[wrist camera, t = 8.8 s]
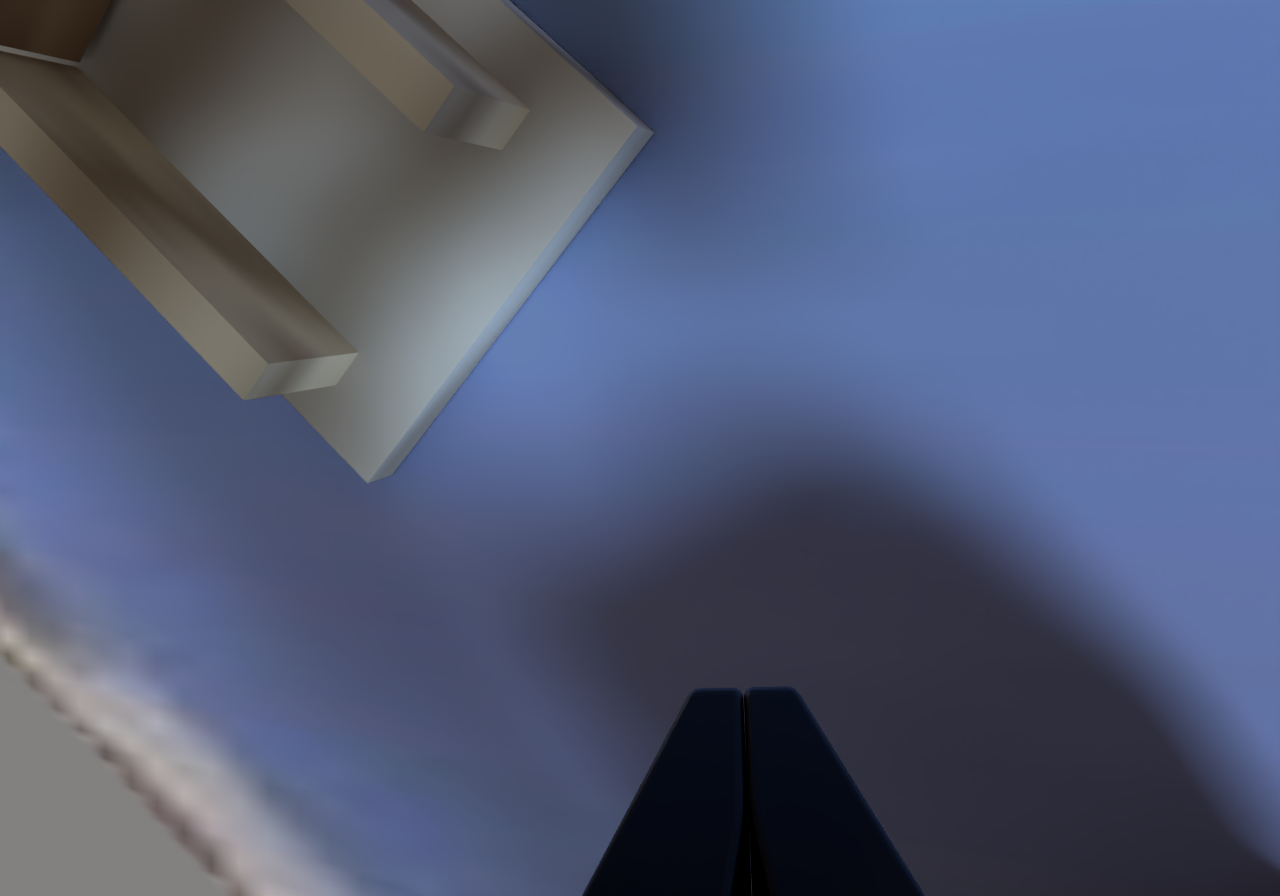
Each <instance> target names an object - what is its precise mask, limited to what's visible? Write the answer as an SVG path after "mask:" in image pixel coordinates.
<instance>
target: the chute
mask: <svg viewBox="0 0 1280 896" xmlns="http://www.w3.org/2000/svg"><path fill="white" fill-rule="evenodd" d="M653 134H654V131H653V130H651V129H650V128H649V127H648V126H647V125H646V124H645V123H644V122H643V121H642V120H640V119H639V118H638V117H637V116H636V115H635V114H634V113H633V112H632V111H631V110H629V109H628V108H627V107H626V106H625V105H624V104H623V103H622V102H621V101H620V100H618V99H617V98H616V97H615V96H614V95H613V94H612V93H611V92H610V91H609V90H607V89H606V88H605V87H604V86H603V85H602V84H601V83H600V82H599V81H598V80H596V79H595V78H594V77H593V76H592V75H591V74H590V73H589V72H588V71H587V70H585V69H584V68H583V67H582V66H581V65H580V64H579V63H578V62H577V61H576V60H574V59H573V58H572V57H571V56H570V55H569V54H568V53H567V52H566V51H565V50H564V49H562V48H561V47H560V46H559V45H558V44H557V43H556V42H555V41H554V40H553V39H551V38H550V37H549V36H548V35H547V34H546V33H545V32H544V31H543V30H542V29H540V28H539V27H538V26H537V25H536V24H535V23H534V22H533V21H532V20H531V19H529V18H528V17H527V16H526V15H525V14H524V13H523V12H522V11H521V10H520V9H518V8H517V7H516V6H515V5H514V4H513V3H512V2H511V1H510V0H112V1H111V2H110V4H109V6H108V8H107V10H106V12H105V14H104V16H103V18H102V20H101V22H100V24H99V26H98V28H97V30H96V32H95V34H94V36H93V38H92V40H91V42H90V43H89V45H88V47H87V49H86V51H85V53H84V55H83V57H82V59H81V61H80V63H79V62H74V61H70V60H65V59H60V58H56V57H51V56H47V55H42V54H38V53H33V52H29V51H24V50H19V49H15V48H10V47H6V46H1V45H0V146H1V147H2V148H3V149H4V150H5V151H6V153H7V154H8V155H9V156H10V157H11V158H12V159H13V160H14V161H15V162H16V163H17V164H18V165H19V166H20V167H21V168H22V169H23V170H24V171H25V172H26V173H27V174H28V176H29V177H30V178H31V179H32V180H33V181H34V182H35V183H36V184H37V185H38V186H39V187H40V188H41V189H42V190H43V191H44V192H45V193H46V194H47V195H48V196H49V198H50V199H51V200H52V201H53V202H54V203H55V204H56V205H57V206H58V207H59V208H60V209H61V210H62V211H63V212H64V213H65V214H66V215H67V216H68V217H69V218H70V219H71V221H72V222H73V223H74V224H75V225H76V226H77V227H78V228H79V229H80V230H81V231H82V232H83V233H84V234H85V235H86V236H87V237H88V238H89V239H90V240H91V241H92V243H93V244H94V245H95V246H96V247H97V248H98V249H99V250H100V251H101V252H102V253H103V254H104V255H105V256H106V257H107V258H108V259H109V260H110V261H111V262H112V263H113V265H114V266H115V267H116V268H117V269H118V270H119V271H120V272H121V273H122V274H123V275H124V276H125V277H126V278H127V279H128V280H129V281H130V282H131V283H132V284H133V285H134V286H135V288H136V289H137V290H138V291H139V292H140V293H141V294H142V295H143V296H144V297H145V298H146V299H147V300H148V301H149V302H150V303H151V304H152V305H153V306H154V307H155V308H156V310H157V311H158V312H159V313H160V314H161V315H162V316H163V317H164V318H165V319H166V320H167V321H168V322H169V323H170V324H171V325H172V326H173V327H174V328H175V329H176V330H177V331H178V333H179V334H180V335H181V336H182V337H183V338H184V339H185V340H186V341H187V342H188V343H189V344H190V345H191V346H192V347H193V348H194V349H195V350H196V351H197V352H198V353H199V355H200V356H201V357H202V358H203V359H204V360H205V361H206V362H207V363H208V364H209V365H210V366H211V367H212V368H213V369H214V370H215V371H216V372H217V373H218V374H219V375H220V376H221V378H222V379H223V380H224V381H225V382H226V383H227V384H228V385H229V386H230V387H231V388H232V389H233V390H234V391H235V392H236V393H237V394H238V395H239V396H240V397H241V398H242V400H243V401H244V400H250V399H256V398H262V397H268V396H274V395H280V394H281V395H282V396H283V397H284V398H285V399H286V400H287V401H288V402H289V403H290V404H291V405H292V406H293V407H294V408H295V409H296V410H297V411H298V412H299V413H300V414H301V415H302V416H303V417H304V418H305V419H306V420H307V421H308V423H309V424H310V425H311V426H312V427H313V428H314V429H315V430H316V431H317V432H318V433H319V434H320V435H321V436H322V437H323V438H324V439H325V440H326V441H327V442H328V443H329V444H330V445H331V446H332V447H333V448H334V449H335V451H336V452H337V453H338V454H339V455H340V456H341V457H342V458H343V459H344V460H345V461H346V462H347V463H348V464H349V465H350V466H351V467H352V468H353V469H354V470H355V471H356V472H357V473H358V474H359V475H360V476H361V477H362V479H363V480H364V481H365V482H366V483H370V482H373V481H376V480H379V479H382V478H385V477H389V476H392V475H393V473H394V472H395V471H396V469H397V468H398V467H399V466H400V464H401V463H402V462H403V460H404V459H405V458H406V456H407V455H408V454H409V453H410V451H411V450H412V449H413V447H414V446H415V445H416V443H417V442H418V441H419V439H420V438H421V437H422V436H423V434H424V433H425V432H426V430H427V429H428V428H429V426H430V425H431V424H432V422H433V421H434V420H435V419H436V417H437V416H438V415H439V413H440V412H441V411H442V409H443V408H444V407H445V405H446V404H447V403H448V402H449V400H450V399H451V398H452V396H453V395H454V394H455V392H456V391H457V390H458V388H459V387H460V386H461V385H462V383H463V382H464V381H465V379H466V378H467V377H468V375H469V374H470V373H471V371H472V370H473V369H474V368H475V366H476V365H477V364H478V362H479V361H480V360H481V358H482V357H483V356H484V355H485V353H486V352H487V351H488V349H489V348H490V347H491V345H492V344H493V343H494V341H495V340H496V339H497V338H498V336H499V335H500V334H501V332H502V331H503V330H504V328H505V327H506V326H507V324H508V323H509V322H510V321H511V319H512V318H513V317H514V315H515V314H516V313H517V311H518V310H519V309H520V307H521V306H522V305H523V304H524V302H525V301H526V300H527V298H528V297H529V296H530V294H531V293H532V292H533V290H534V289H535V288H536V287H537V285H538V284H539V283H540V281H541V280H542V279H543V277H544V276H545V275H546V274H547V272H548V271H549V270H550V268H551V267H552V266H553V264H554V263H555V262H556V260H557V259H558V258H559V257H560V255H561V254H562V253H563V251H564V250H565V249H566V247H567V246H568V245H569V243H570V242H571V241H572V240H573V238H574V237H575V236H576V234H577V233H578V232H579V230H580V229H581V228H582V226H583V225H584V224H585V223H586V221H587V220H588V219H589V217H590V216H591V215H592V213H593V212H594V211H595V209H596V208H597V207H598V206H599V204H600V203H601V202H602V200H603V199H604V198H605V196H606V195H607V194H608V192H609V191H610V190H611V189H612V187H613V186H614V185H615V183H616V182H617V181H618V179H619V178H620V177H621V176H622V174H623V173H624V172H625V170H626V169H627V168H628V166H629V165H630V164H631V162H632V161H633V160H634V159H635V157H636V156H637V155H638V153H639V152H640V151H641V149H642V148H643V147H644V145H645V144H646V143H647V142H648V140H649V139H650V138H651V136H652V135H653Z"/></svg>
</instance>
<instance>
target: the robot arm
mask: <svg viewBox="0 0 1280 896" xmlns="http://www.w3.org/2000/svg"><path fill="white" fill-rule="evenodd" d="M744 712H745V726H744ZM745 739H746V747H745ZM746 767H747V768H746ZM748 816H749V817H748ZM749 836H750V841H749ZM750 857H751V866H750ZM751 878H752V891H751ZM582 896H925V895H924V893H923V892H922V890H921V888H920V887H919V885H918V884H917V882H916V880H915V879H914V877H913V876H912V874H911V872H910V871H909V869H908V868H907V866H906V864H905V863H904V861H903V860H902V858H901V856H900V855H899V853H898V851H897V850H896V848H895V847H894V845H893V843H892V842H891V840H890V839H889V837H888V835H887V834H886V832H885V831H884V829H883V827H882V826H881V824H880V822H879V821H878V819H877V818H876V816H875V814H874V813H873V811H872V810H871V808H870V806H869V805H868V803H867V802H866V800H865V798H864V797H863V795H862V794H861V792H860V790H859V789H858V787H857V785H856V784H855V782H854V781H853V779H852V777H851V776H850V774H849V773H848V771H847V769H846V768H845V766H844V765H843V763H842V761H841V760H840V758H839V756H838V755H837V753H836V752H835V750H834V748H833V747H832V745H831V744H830V742H829V740H828V739H827V737H826V736H825V734H824V732H823V731H822V729H821V728H820V726H819V724H818V723H817V721H816V719H815V718H814V716H813V715H812V713H811V711H810V710H809V708H808V707H807V705H806V703H805V702H804V700H803V699H802V697H801V696H800V694H799V693H798V692H797V691H796V690H795V689H793V688H792V687H753V688H749V689H748V690H746V692H745V694H744V705H743V695H742V693H741V691H740V690H738V689H737V688H704V689H695V690H694V691H692V692H691V693H690V694H689V696H688V697H687V699H686V700H685V702H684V704H683V706H682V708H681V710H680V712H679V714H678V716H677V717H676V719H675V721H674V723H673V725H672V727H671V729H670V731H669V733H668V734H667V736H666V738H665V740H664V742H663V744H662V746H661V748H660V750H659V751H658V753H657V755H656V757H655V759H654V761H653V763H652V765H651V767H650V768H649V770H648V772H647V774H646V776H645V778H644V780H643V782H642V784H641V785H640V787H639V789H638V791H637V793H636V795H635V797H634V799H633V801H632V802H631V804H630V806H629V808H628V810H627V812H626V814H625V816H624V817H623V819H622V821H621V823H620V825H619V827H618V829H617V831H616V833H615V834H614V836H613V838H612V840H611V842H610V844H609V846H608V848H607V850H606V851H605V853H604V855H603V857H602V859H601V861H600V863H599V865H598V867H597V868H596V870H595V872H594V874H593V876H592V878H591V880H590V882H589V884H588V885H587V887H586V889H585V891H584V893H583V895H582Z"/></svg>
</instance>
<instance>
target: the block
mask: <svg viewBox="0 0 1280 896" xmlns="http://www.w3.org/2000/svg"><path fill="white" fill-rule="evenodd" d="M111 1H112V0H0V45H1V46H6V47H10V48H15V49H19V50H24V51H29V52H33V53H38V54H42V55H47V56H51V57H56V58H60V59H65V60H70V61H74V62H79V63H80V61H81V59H82V57H83V55H84V53H85V51H86V49H87V47H88V45H89V43H90V42H91V40H92V38H93V36H94V34H95V32H96V30H97V28H98V26H99V24H100V22H101V20H102V18H103V16H104V14H105V12H106V10H107V8H108V6H109V4H110V2H111Z"/></svg>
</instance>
